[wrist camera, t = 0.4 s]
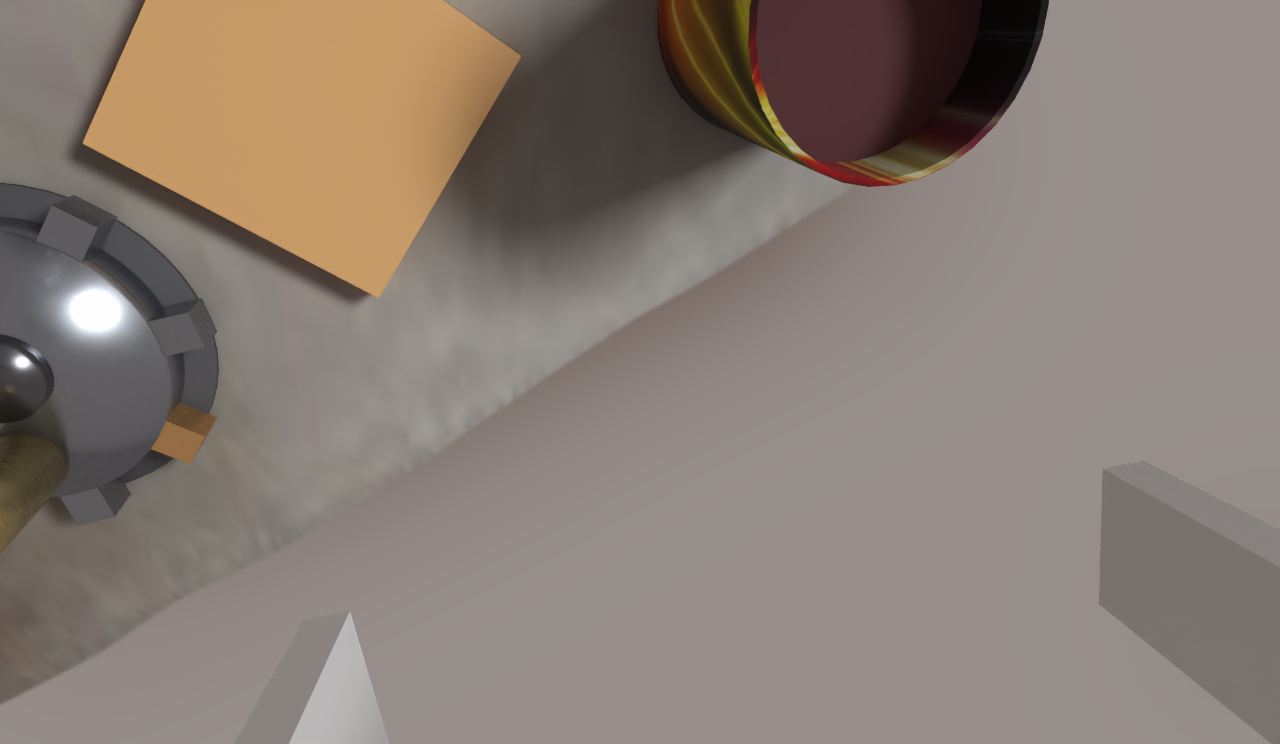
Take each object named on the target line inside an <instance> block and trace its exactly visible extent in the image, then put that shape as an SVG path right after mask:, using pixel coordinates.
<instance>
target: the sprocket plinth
mask: <svg viewBox="0 0 1280 744" xmlns="http://www.w3.org/2000/svg"><path fill="white" fill-rule="evenodd" d="M67 198H68V197H65V196H62V195H59V194H56V193H53V192H50V191H46V190H41V189H37V188H32V187H27V186H22V185H15V184H5V183H0V217H10V218H17V219H22V220H27V221H32V222H37V223H41V224H44V222H45V219H46V217H47V215H48V213H49V210H50V208H51V206H52V205H54V204H56V203H58V202H60V201H62V200H65V199H67ZM102 250H104V251H105V252H107V253H108V254H110V255H111V256H113V257H114V258H116V259H117V260H119V261H120V262H121V263H122V264H124V265H125V266H126V267H127V268H128V269H130V270H131V271H132V272H133V273H134V274H136V275H137V276H138V277H139V278H140V279H141V280H142V281H143V282H144V283H145V285H146V286H147V287H148V288H149V289H150V290H151V291H152V292H153V293H154V295H155V296H156V297H157V299H158V300H159V301H160V303H161V304H162V305H163V307H164V306H168V305H173V304H177V303H182V302H187V301H191V300H196V299H198V298H197V296H196V294H195V292H194V291H193V289H192V288H191V287H190V285H189V284H188V283H187V281H186V280H185V278H184V277H183V276H182V274H181V273H180V272H179V271H178V270H177V269H176V268H175V267H174V265H173V264H172V263H171V262H170V261H169V260H168V259H167V258H166V257H165V256H164V255H163V254H162V253H161V252H160V251H159V250H157V249H156V248H155V247H154V246H153V245H152V244H150V243H149V242H148V241H147V240H146V239H145V238H143V237H142V236H140V235H139V234H137V233H136V232H135V231H133V230H132V229H130V228H129V227H127V226H126V225H125V224H123V223H121V222H120V221H118V220H115V222H114V225H113V227H112V229H111V231H110V233H109V235H108V237H107V240H106V242H105V244H104V246H103V248H102ZM183 355H184V365H185V380H184V389H183V393H182V397H181V401H180V402H181V403H184V404H186V405H188V406H191V407H193V408H196V409H198V410H200V411H203V412H205V413H207V414H208V413H209V411H210V409H211V407H212V404H213V401H214V397H215V393H216V389H217V382H218V370H219V367H218V354H217V347H216V343H215V338H214V336H213V337H212V339H211V340H210V341H209V342H208V344H207V345H206V346H205V347H204V348H200V349H195V350H191V351H186V352H183ZM171 459H173V457H170V456H168V455H165V454H163V453H160V452H157V451H155V450H152V449H150V451H149V452H148V453H147V454H146V455H145V456H144V457H143V458H142V459H141V461H140V462H138V463H137V464H136V465H135V466H134V467H132V468H131V469H130V470H129V471H127V472H126V473H124V474H123V475H121V478H122V480H123V481H124V483H126V482H130V481H133V480H135V479H138V478H140V477H142V476H144V475H147V474H149V473H151V472H153V471H154V470H156V469H158V468H159V467H161V466H163V465H164V464H166V463H168V462H169V461H170V460H171Z"/></svg>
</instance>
